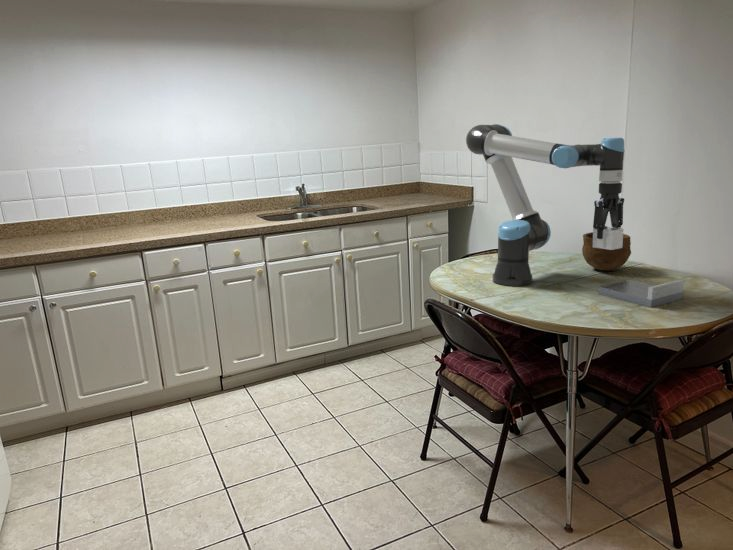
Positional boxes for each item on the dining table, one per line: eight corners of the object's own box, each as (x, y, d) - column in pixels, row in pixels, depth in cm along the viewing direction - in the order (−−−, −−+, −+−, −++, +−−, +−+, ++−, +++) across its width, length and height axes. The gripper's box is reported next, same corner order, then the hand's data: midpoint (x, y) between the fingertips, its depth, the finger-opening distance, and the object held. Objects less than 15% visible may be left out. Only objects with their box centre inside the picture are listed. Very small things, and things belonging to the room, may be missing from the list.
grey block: (611, 249, 193) (612, 228, 192) (592, 247, 200) (593, 226, 198) (622, 247, 196) (623, 226, 195) (603, 245, 203) (603, 225, 201)
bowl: (572, 266, 236) (574, 232, 232) (613, 264, 237) (616, 230, 234) (593, 276, 217) (596, 239, 214) (638, 274, 219) (641, 237, 215)
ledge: (650, 307, 177) (652, 288, 175) (598, 293, 194) (599, 275, 192) (682, 298, 185) (684, 280, 183) (629, 286, 202) (630, 269, 200)
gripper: (602, 184, 185) (598, 251, 190) (636, 180, 194) (632, 244, 200) (583, 183, 192) (580, 248, 197) (618, 180, 201) (614, 242, 206)
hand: (606, 246), depth 198 cm, fingers closed on grey block, 6 cm apart
